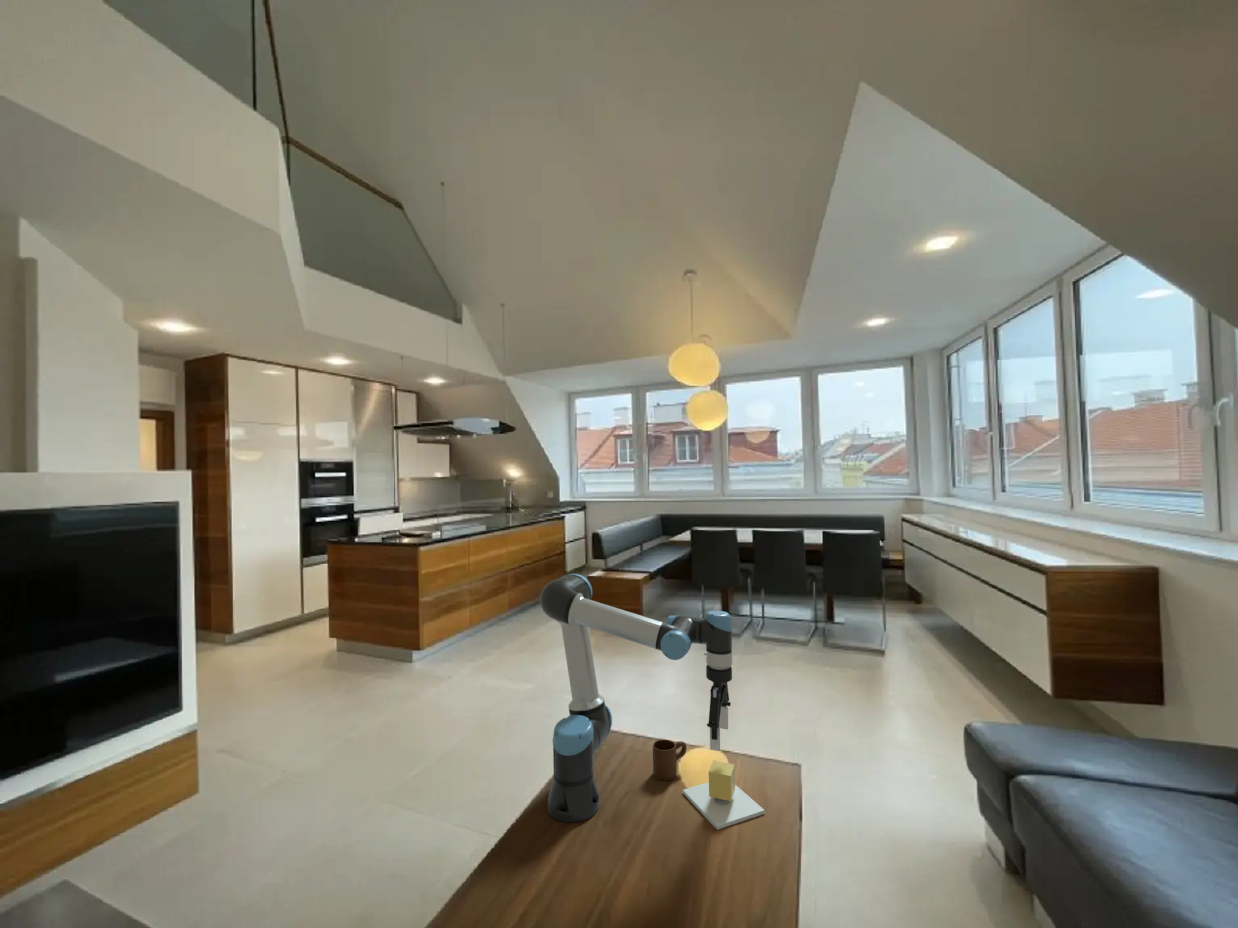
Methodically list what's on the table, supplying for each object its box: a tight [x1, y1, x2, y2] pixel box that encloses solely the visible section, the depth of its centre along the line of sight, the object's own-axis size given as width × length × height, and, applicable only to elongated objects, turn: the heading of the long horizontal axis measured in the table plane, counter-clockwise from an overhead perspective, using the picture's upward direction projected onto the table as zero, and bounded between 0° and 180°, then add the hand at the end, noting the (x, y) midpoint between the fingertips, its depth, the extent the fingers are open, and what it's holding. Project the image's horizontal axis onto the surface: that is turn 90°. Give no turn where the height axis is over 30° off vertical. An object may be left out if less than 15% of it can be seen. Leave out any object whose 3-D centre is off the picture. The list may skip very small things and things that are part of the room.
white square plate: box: [682, 781, 765, 830], centre depth 147 cm, size 18×16×9 cm
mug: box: [652, 739, 688, 781], centre depth 163 cm, size 12×8×9 cm, turn 114°
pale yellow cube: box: [708, 760, 736, 801], centre depth 147 cm, size 6×6×7 cm
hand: (719, 738), depth 147 cm, fingers open, 13 cm apart
